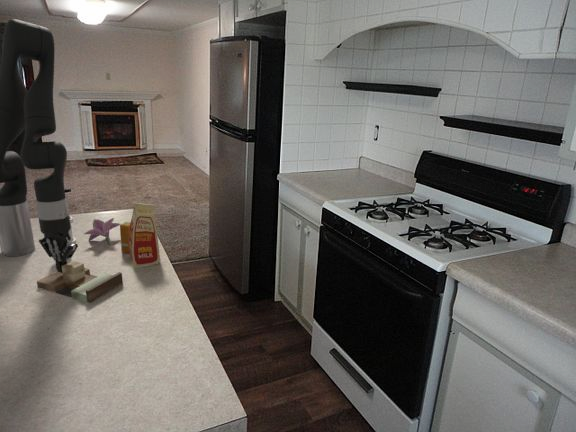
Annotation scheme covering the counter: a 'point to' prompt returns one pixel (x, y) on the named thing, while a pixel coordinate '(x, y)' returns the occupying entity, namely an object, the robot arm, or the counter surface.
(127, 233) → the supplement box
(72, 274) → the maple block
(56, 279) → the trap track
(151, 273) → the counter surface
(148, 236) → the milk carton
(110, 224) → the lily
